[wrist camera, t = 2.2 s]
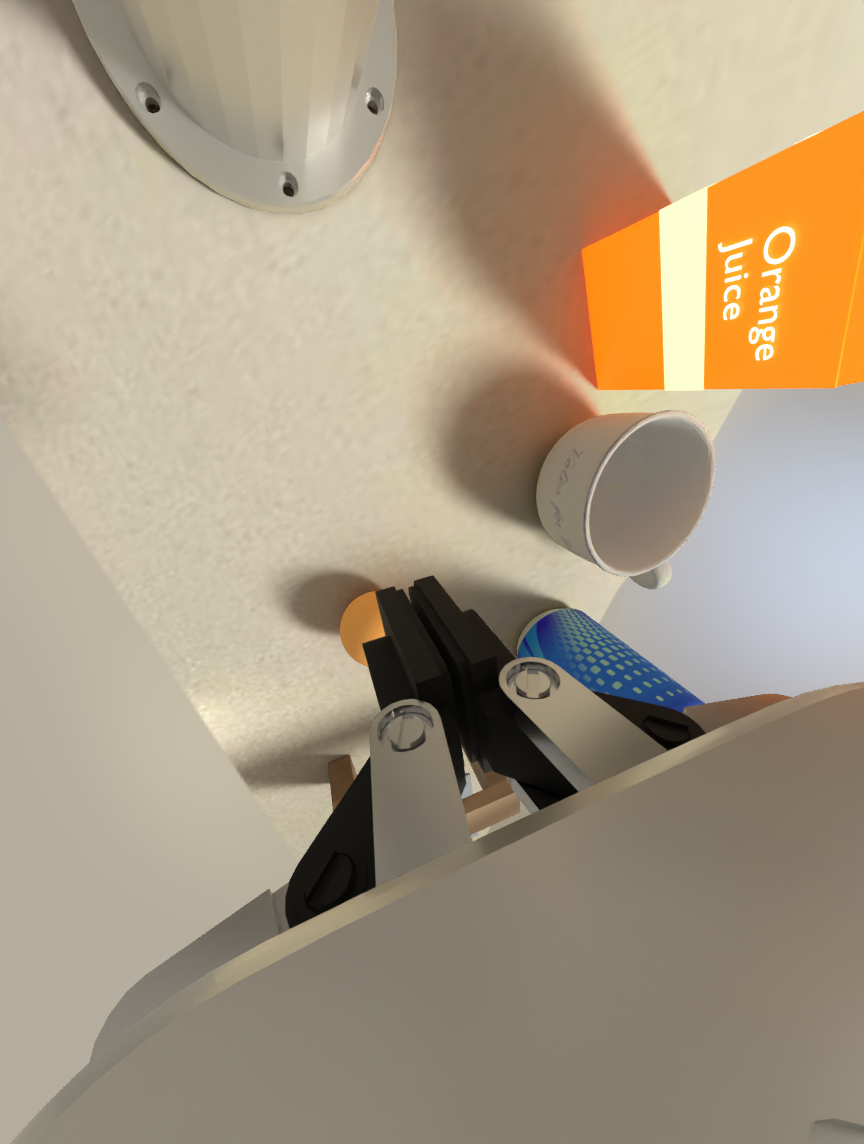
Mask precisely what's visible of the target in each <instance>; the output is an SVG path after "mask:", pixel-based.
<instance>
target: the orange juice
mask: <svg viewBox="0 0 864 1144" xmlns="http://www.w3.org/2000/svg"><path fill="white" fill-rule="evenodd" d="M811 136H812V135H811ZM811 136H809V137H810V138H808V137H807V138H808V139H806V138H805V139H806V140H804V141H803V140H802V142H801V141H800V143H798V142H797V144H796V143H795V145H793V146H791V147H789V148H787V149H785V150H783V151H781V152H779V153H777V154H775V155H773V156H771V157H769V158H767V159H765V160H763V161H761V162H759V163H757V164H755V165H753V166H751V167H749V168H747V169H745V170H742V171H740V172H738V173H736V174H734V175H732V176H730V177H728V178H726V179H724V180H722V181H720V182H717V183H715V184H712V185H710V186H707V187H705V188H703V189H701V190H699V191H697V192H695V193H693V194H691V195H689V196H687V197H685V198H683V199H681V200H679V201H677V202H675V203H673V204H671V205H669V206H667V207H665V208H663V209H661V210H659V212H657V213H655V214H653V215H651V216H649V217H647V218H645V219H643V220H641V221H639V222H637V223H635V224H633V225H630V226H628V227H626V228H624V229H622V230H620V231H618V232H616V233H614V234H612V235H610V236H608V237H606V238H604V239H602V240H600V241H598V242H596V243H594V244H592V245H590V246H588V247H586V248H584V249H582V256H583V265H584V273H585V282H586V291H587V299H588V308H589V317H590V325H591V334H592V343H593V351H594V360H595V369H596V377H597V386H598V390H655V389H665V390H704V389H763V388H764V389H766V388H835V387H837V386H840V385H845V384H851V383H858V382H864V111H863V112H861V113H859V114H857V115H855V116H852V117H850V118H848V119H846V120H844V121H842V122H840V123H838V124H836V125H834V126H832V127H830V128H828V129H826V130H824V131H822V132H821V131H820V132H818V133H817V134H815V135H814V136H812V137H811Z"/></svg>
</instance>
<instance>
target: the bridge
mask: <svg viewBox="0 0 864 1144" xmlns="http://www.w3.org/2000/svg"><path fill="white" fill-rule="evenodd" d="M461 746H462V744H461ZM462 748H463V746H462ZM463 750H464V748H463ZM464 752H465V750H464ZM465 754H466V752H465ZM466 756H467V755H466ZM467 758H468V757H467ZM468 760H469V759H468ZM469 762H470V760H469ZM470 765H471V767H472V769H473V771H474V773H475V775H476V777H477V779H478V781H479V783H480V785H481V787H482V789H483V790H482V791H479V792H477V793H475V794H472V795H470V796H468V797H466V798H463V799H462V803H463V807H464V810H465V814H466V818H467V822H468V826H469V830H470V834H471V835H472V834H474V833H476V832H479V831H481V830H483V829H485V828H487V827H489V826H492V825H494V824H496V823H498V822H500V821H502V820H505V819H507V818H509V817H511V816H513V815H515V814H518V813H520V802H519V798H518V797H517V795H516V794H515V793H514V791H513V790H512V789H511V787H510V785H509V783H508V781H507V777H506V776H504V775H501V774H498V773H495V772H493V770H492V771H490V772H488V773H485V774H484V772H483V770H482V768H481V766H480V764H479V762H478V761H476V762H474V763H471V762H470ZM328 766H329V776H330V786H331V795H332V805H333V811H334V810H335V808H336V807H337V805H338V804H339V802H340V801H341V799H342V798H343V796H344V795H345V793H346V792H347V790H348V789H349V787H350V786H351V784H352V783H353V781H354V780H355V778H356V777H357V774H356V772H355V769H354V766H353V763H352V760H351V758H350V755H348V756H346V757H343V758H340V759H338V760H335V761H333V762H330V763H328Z"/></svg>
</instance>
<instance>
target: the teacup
mask: <svg viewBox="0 0 864 1144" xmlns="http://www.w3.org/2000/svg"><path fill="white" fill-rule="evenodd" d="M714 474H715V452H714V446H713V443H712V440H711V437H710V435H709V433H708V431H707V429H706V428H705V426H704V425H703V424H702V423H701V422H700V421H699V419H697V418H696V417H694V416H693V415H691V414H689V413H686V412H683V411H670V410H667V411H662V412H657V413H618V414H607V415H601V416H597V417H594V418H590V419H588V420H585V421H583V422H581V423H579V424H578V425H576V426H574V427H573V428H572V429H570V430H569V431H568V432H566V433H565V434H564V435H563V436H562V437H561V438H560V439H559V440H558V441H557V443H556V444H555V445H554V447H553V448H552V449H551V451H550V452H549V454H548V456H547V458H546V459H545V461H544V464H543V466H542V469H541V472H540V474H539V479H538V483H537V492H536V501H537V510H538V513H539V517H540V520H541V522H542V524H543V526H544V528H545V530H546V531H547V533H548V534H549V535H550V536H551V538H552V539H553V540H554V541H555V542H557V543H558V544H559V545H561V546H562V547H564V548H565V549H567V550H569V551H570V552H572V553H574V554H576V555H578V556H580V557H582V558H583V559H586V560H588V561H590V562H592V563H594V564H596V565H598V566H599V567H600V568H601V569H603V570H604V571H606V572H608V573H611V574H614V575H616V576H622V577H627V576H629V577H630V578H631V579H632V580H634V582H636V583H637V584H639V585H640V586H642V587H644V588H647V589H658V588H661V587H663V586H664V585H665V584H666V583H668V582H669V580H670V579H671V577H672V570H671V567H670V565H669V563H668V561H667V560H668V559H669V558H670V557H672V556H673V555H674V554H675V553H676V552H677V551H678V550H679V549H680V548H681V547H682V545H683V544H684V543H685V542H686V541H687V540H688V538H689V537H690V535H691V534H692V533H693V532H694V530H695V529H696V527H697V525H698V523H699V521H700V519H701V518H702V515H703V513H704V511H705V508H706V506H707V503H708V501H709V499H710V493H711V491H712V487H713V482H714Z"/></svg>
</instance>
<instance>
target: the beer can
mask: <svg viewBox="0 0 864 1144" xmlns="http://www.w3.org/2000/svg"><path fill="white" fill-rule="evenodd" d="M525 657H537V658H542V659H546V660H549V661H551V662H553V663H554V664H556V665H558V666H559V667H561V668H562V669H563V670H564V671H566V672H567V673H568V674H570V675H571V676H572V677H573V678H575V679H576V680H577V681H579V682H580V683H581V684H583V685H584V686H585V687H586V688H588V689H589V690H591V691H596V692H601V693H605V694H610V695H614V696H619V697H623V698H628V699H632V700H637V701H642V702H646V703H651V704H655V705H660V706H664V707H668V708H671V709H674V710H677V711H679V712H681V713H683V710H684V707H689V706H695V705H701V704H705V703H703V702H702V701H701V700H699V699H698V698H697V697H696V696H694V695H693V694H691V693H690V692H689V691H688V690H686V689H685V688H683V687H682V686H681V685H680V684H678V683H677V682H676V681H674V680H673V679H672V678H670V677H669V676H668V675H666V674H665V673H664V672H662V671H661V670H660V669H658V668H657V667H656V666H654V665H653V664H652V663H650V662H649V661H648V660H646V659H645V658H643V657H642V656H641V655H640V654H638V653H637V652H636V651H634V650H633V649H632V648H630V647H629V646H628V645H626V644H625V643H624V642H622V641H621V640H620V639H618V638H617V637H615V636H614V635H613V634H612V633H610V632H609V631H607V630H606V629H605V628H603V627H602V626H601V625H600V624H598V623H597V622H595V621H594V620H593V619H591V618H590V617H589V616H587V615H586V614H585V613H583V612H582V611H580V610H577V609H572V608H564V609H552V610H548V611H545V612H543V613H541V614H539V615H538V616H536V617H535V618H534V619H532V620H531V621H530V622H529V623H528V624H527V626H526V627H525V628H524V630H523V631H522V633H521V635H520V637H519V640H518V644H517V659H519V658H525Z"/></svg>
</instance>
